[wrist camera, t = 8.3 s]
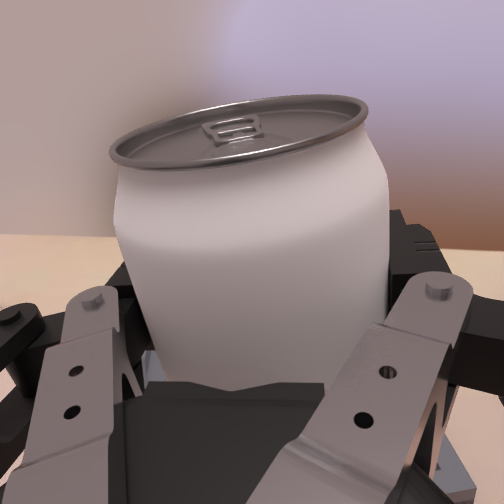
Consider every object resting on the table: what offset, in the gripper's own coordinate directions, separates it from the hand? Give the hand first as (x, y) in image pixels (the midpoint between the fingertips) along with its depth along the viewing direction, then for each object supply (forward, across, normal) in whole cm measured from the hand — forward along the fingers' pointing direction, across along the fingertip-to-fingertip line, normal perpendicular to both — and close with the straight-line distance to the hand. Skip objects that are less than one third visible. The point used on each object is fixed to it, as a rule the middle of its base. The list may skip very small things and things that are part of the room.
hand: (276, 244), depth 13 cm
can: (-2, 0, +8) cm, 8 cm away
